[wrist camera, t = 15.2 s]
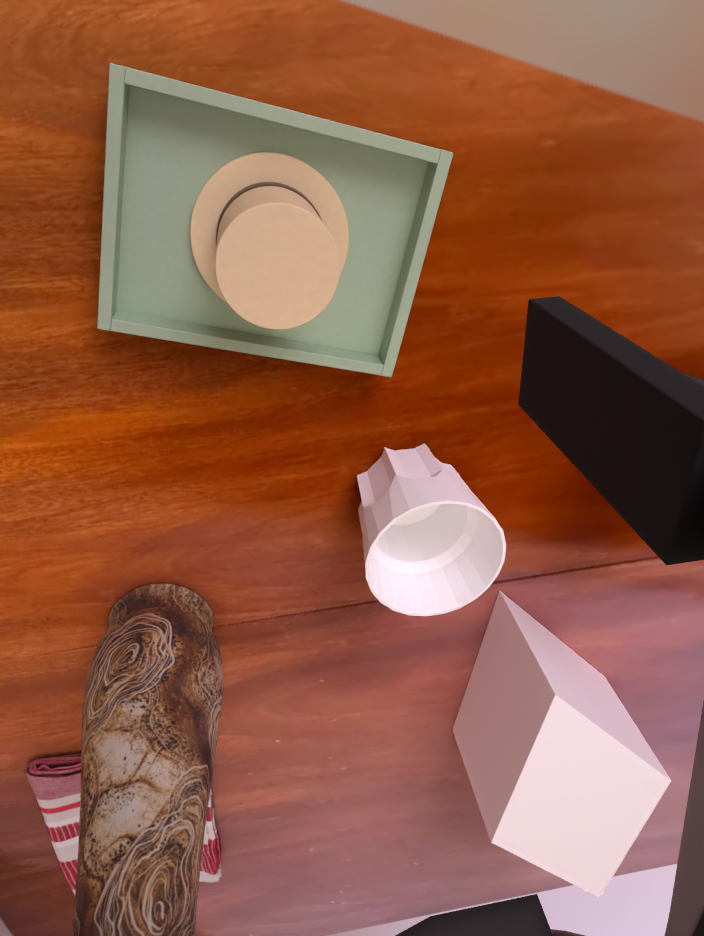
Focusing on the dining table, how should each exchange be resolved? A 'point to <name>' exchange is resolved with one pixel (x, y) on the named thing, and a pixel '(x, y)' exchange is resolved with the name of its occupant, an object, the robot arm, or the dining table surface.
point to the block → (553, 753)
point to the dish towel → (61, 811)
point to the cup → (425, 534)
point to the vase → (147, 765)
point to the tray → (183, 176)
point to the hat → (270, 239)
